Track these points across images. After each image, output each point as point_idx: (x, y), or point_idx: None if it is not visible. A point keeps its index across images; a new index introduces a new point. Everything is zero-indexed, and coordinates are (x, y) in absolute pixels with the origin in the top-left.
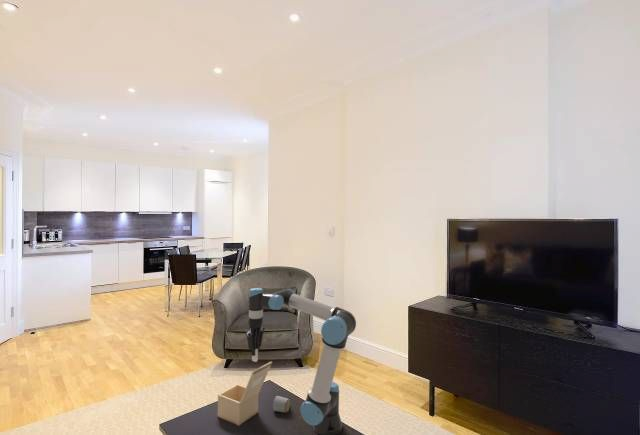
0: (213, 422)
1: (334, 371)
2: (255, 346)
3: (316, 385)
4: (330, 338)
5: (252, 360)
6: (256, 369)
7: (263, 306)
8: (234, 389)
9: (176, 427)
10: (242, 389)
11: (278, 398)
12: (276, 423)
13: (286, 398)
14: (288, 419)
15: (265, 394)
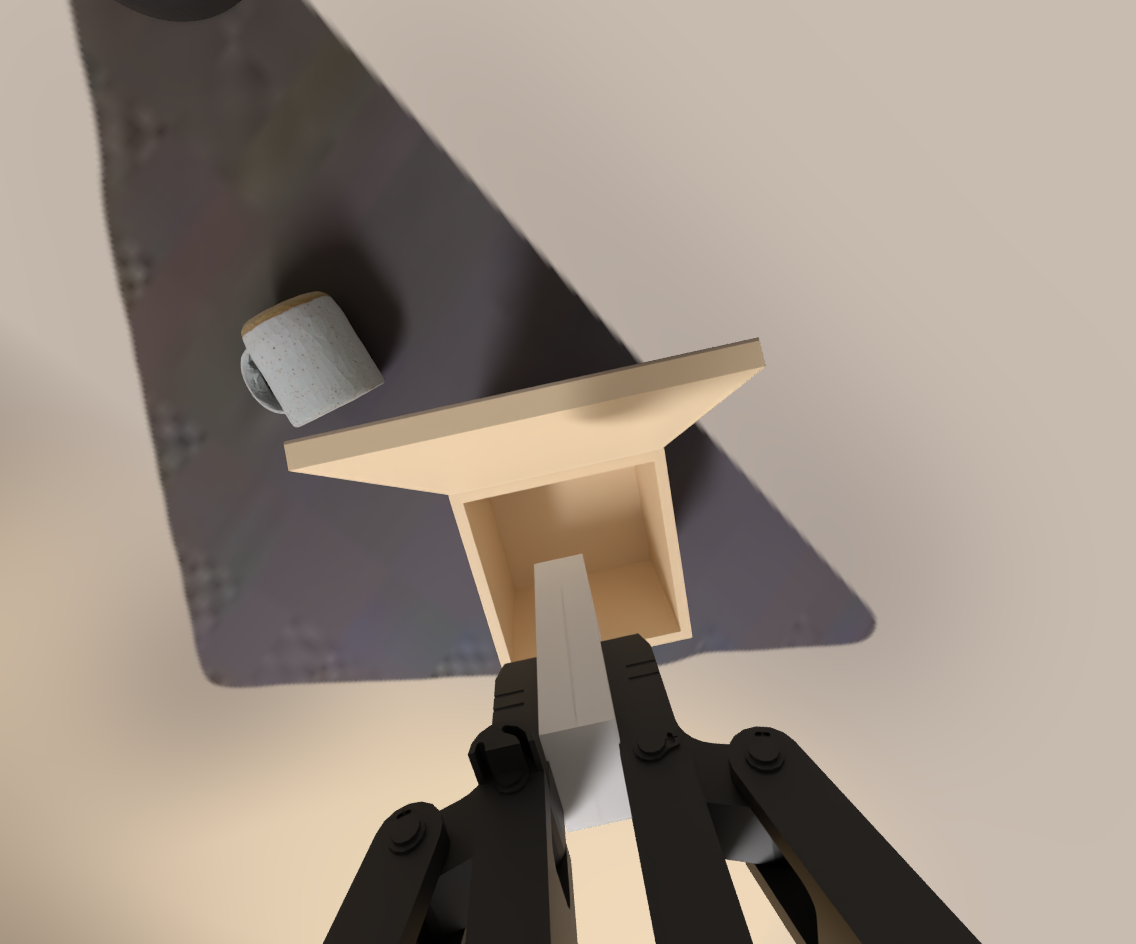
0: (705, 528)
1: None
2: (654, 807)
3: None
4: None
5: (597, 621)
6: (685, 375)
7: None
8: None
9: (844, 606)
10: (501, 615)
11: (321, 380)
12: (445, 254)
13: (262, 341)
14: (351, 229)
15: (306, 582)
